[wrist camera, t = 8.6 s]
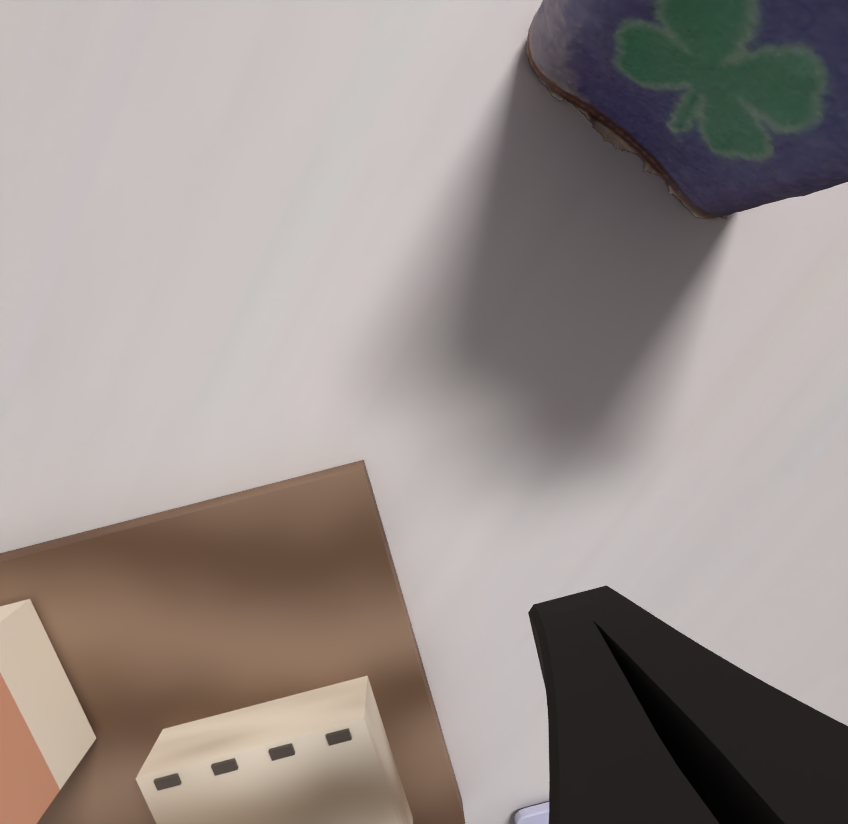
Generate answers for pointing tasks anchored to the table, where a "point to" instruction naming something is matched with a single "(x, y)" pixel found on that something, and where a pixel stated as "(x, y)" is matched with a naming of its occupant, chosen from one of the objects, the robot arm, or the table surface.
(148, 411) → the table surface
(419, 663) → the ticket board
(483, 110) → the table surface
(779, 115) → the flask
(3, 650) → the cream block with bar
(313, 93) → the table surface
